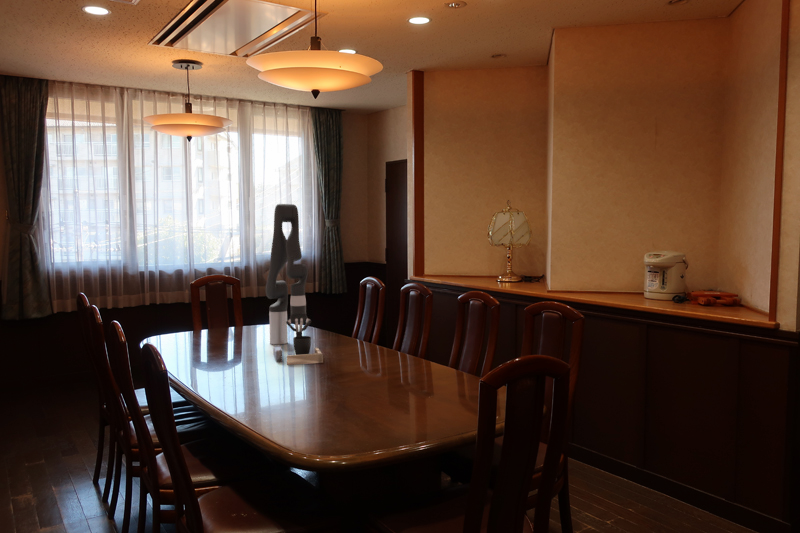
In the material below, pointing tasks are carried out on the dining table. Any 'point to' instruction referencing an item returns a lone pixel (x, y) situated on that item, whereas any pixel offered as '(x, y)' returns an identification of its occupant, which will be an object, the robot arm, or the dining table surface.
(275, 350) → the leg
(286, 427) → the dining table surface
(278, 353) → the hinge post
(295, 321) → the robot arm
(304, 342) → the mug
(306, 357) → the seat frame
